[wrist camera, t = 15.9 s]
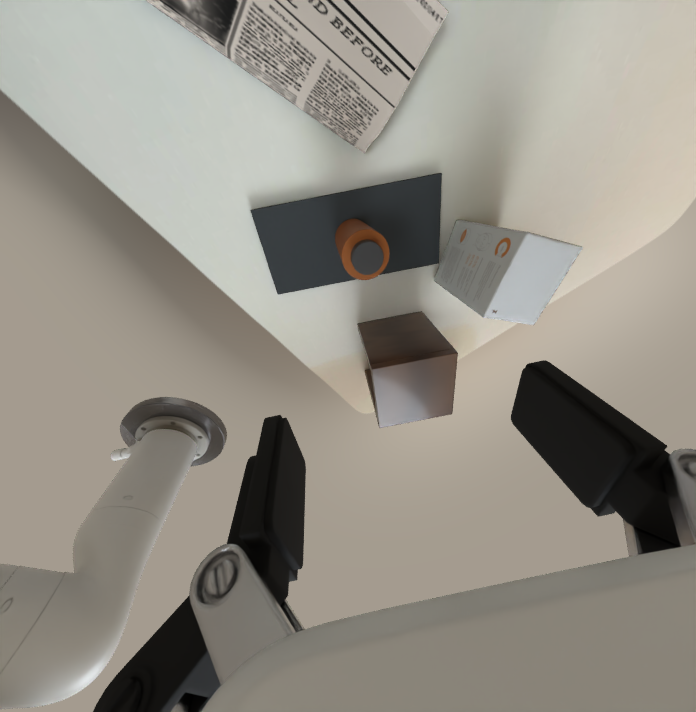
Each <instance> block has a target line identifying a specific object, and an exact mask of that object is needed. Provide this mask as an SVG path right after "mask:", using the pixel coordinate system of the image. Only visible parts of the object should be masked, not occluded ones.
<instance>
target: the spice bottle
mask: <svg viewBox="0 0 696 712" xmlns="http://www.w3.org/2000/svg"><path fill="white" fill-rule="evenodd" d="M335 243H336V246H337V249H338V252H339V255H340V257H341V260H342V263H343V266H344V268H345V270H346V271H347V272H348V273H349V274H350V275H351V276H352V277H354V278H356V279H359V280H369V279H372V278H375V277H376V276H378V275H379V274H380V273H382V271H383V270H384V269H385V267H386V265H387V263H388V260H389V246H388V243H387V241H386V239H385V238H384V237H383V236H382V235H381V234H380V233H379V232H377V231H376V230H374V229H373V228H371V227H370V226H368V225H367V224H365V223H364V222H362V221H361V220H358V219H348V220H346V221H344V222H343V223H341V225H340V226H339V227H338V229H337V231H336V234H335Z"/></svg>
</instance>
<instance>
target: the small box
mask: <svg viewBox="0 0 696 712" xmlns="http://www.w3.org/2000/svg"><path fill="white" fill-rule="evenodd" d="M582 249H583V247H581V246H578V245H574V244H570V243H567V242H563V241H560V240H556V239H552V238H549V237H545V236H541V235H538V234H534V233H530V232H524V231H518V230H512V229H507V228H501V227H496V226H490V225H485V224H480V223H475V222H469V221H463V220H457V221H456V223H455V226H454V229H453V231H452V234H451V236H450V239H449V242H448V244H447V247H446V250H445V252H444V255H443V258H442V260H441V263H440V266H439V268H438V271H437V274H436V276H435V279H434V281H435V282H436V283H438V284H439V285H440V286H442V287H443V288H444V289H446V290H447V291H448V292H450V293H451V294H452V295H454V296H455V297H456V298H458V299H459V300H461V301H462V302H463V303H465V304H466V305H467V306H469V307H470V308H471V309H473V310H474V311H475V312H477V313H478V314H479V315H481V316H482V317H483V318H491V319H498V320H505V321H511V322H517V323H523V324H529V325H534V324H535V323H536V321H537V319H538V318H539V316H540V314H541V313H542V312H543V310H544V308H545V307H546V305H547V304H548V302H549V301H550V299H551V297H552V296H553V294H554V293H555V291H556V290H557V288H558V286H559V285H560V283H561V282H562V280H563V278H564V277H565V275H566V274H567V272H568V271H569V269H570V267H571V266H572V264H573V263H574V261H575V260H576V258H577V256H578V255H579V253H580V252H581V250H582Z"/></svg>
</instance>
